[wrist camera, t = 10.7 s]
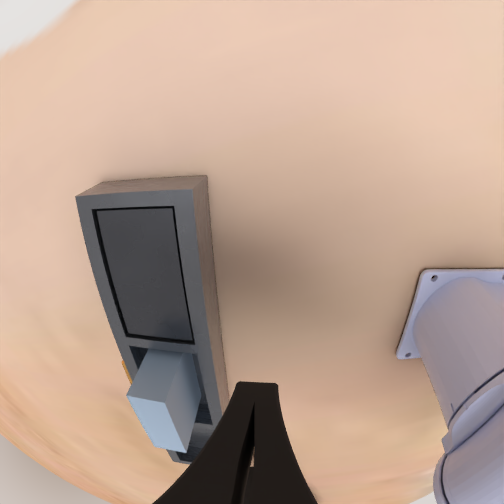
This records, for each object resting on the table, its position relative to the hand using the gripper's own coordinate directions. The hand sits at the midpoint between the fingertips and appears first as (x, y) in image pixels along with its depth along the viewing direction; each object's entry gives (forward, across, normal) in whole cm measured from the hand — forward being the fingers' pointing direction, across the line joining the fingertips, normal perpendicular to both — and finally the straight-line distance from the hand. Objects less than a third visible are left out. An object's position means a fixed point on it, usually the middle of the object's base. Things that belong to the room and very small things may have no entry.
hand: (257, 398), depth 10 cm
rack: (+10, +7, +10) cm, 15 cm away
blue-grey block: (+9, +7, +9) cm, 15 cm away
